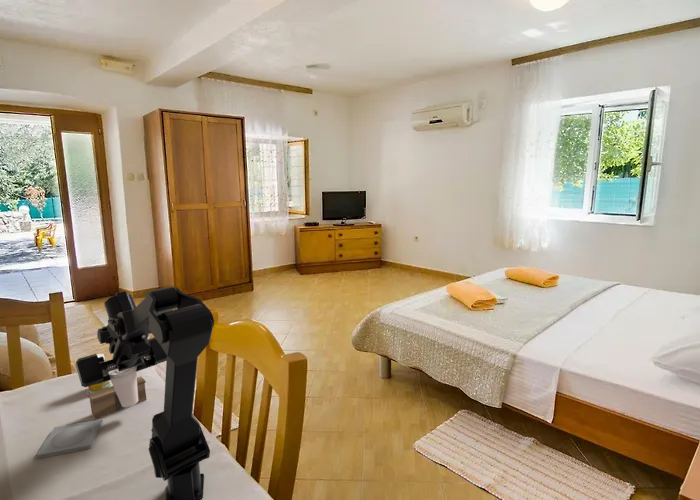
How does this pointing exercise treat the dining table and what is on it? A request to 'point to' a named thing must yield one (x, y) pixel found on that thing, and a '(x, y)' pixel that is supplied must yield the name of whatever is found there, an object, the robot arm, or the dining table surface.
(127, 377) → the smoothie
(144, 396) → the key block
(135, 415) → the dining table surface
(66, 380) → the dining table surface
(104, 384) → the supplement bottle
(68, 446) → the coaster
